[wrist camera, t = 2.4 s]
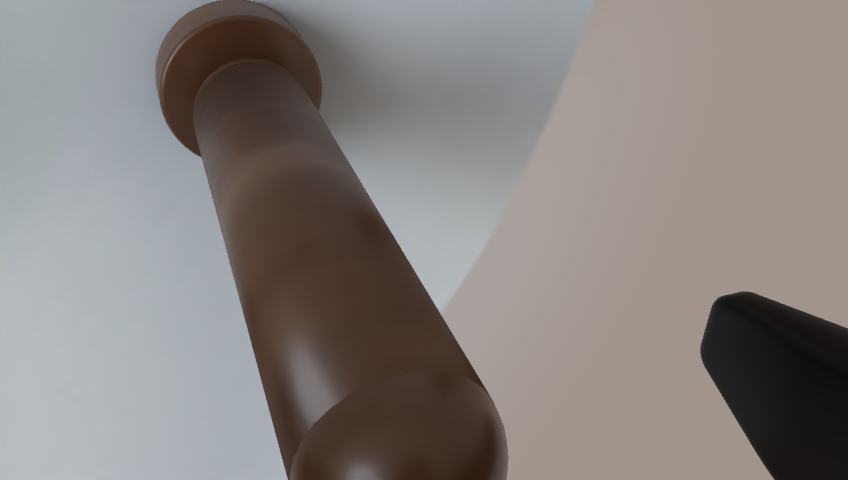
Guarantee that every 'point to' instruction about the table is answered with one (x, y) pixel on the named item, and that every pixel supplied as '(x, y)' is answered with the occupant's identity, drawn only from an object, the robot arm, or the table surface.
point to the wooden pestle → (320, 266)
